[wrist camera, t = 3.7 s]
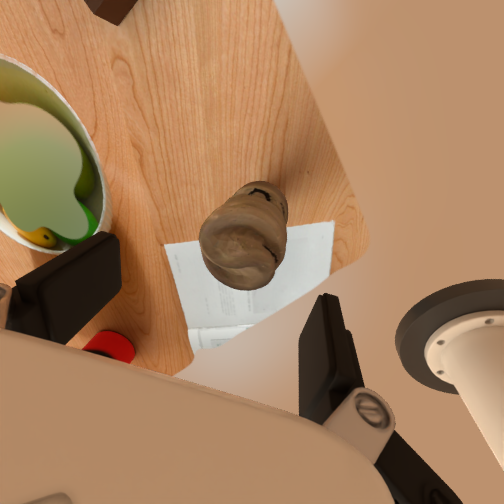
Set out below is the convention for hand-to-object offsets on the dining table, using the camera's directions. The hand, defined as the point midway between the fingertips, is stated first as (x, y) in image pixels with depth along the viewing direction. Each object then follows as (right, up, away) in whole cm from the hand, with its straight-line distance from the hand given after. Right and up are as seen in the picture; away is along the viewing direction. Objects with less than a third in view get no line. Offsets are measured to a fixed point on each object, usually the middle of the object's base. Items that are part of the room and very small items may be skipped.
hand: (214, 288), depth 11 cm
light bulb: (+3, +8, +16) cm, 18 cm away
